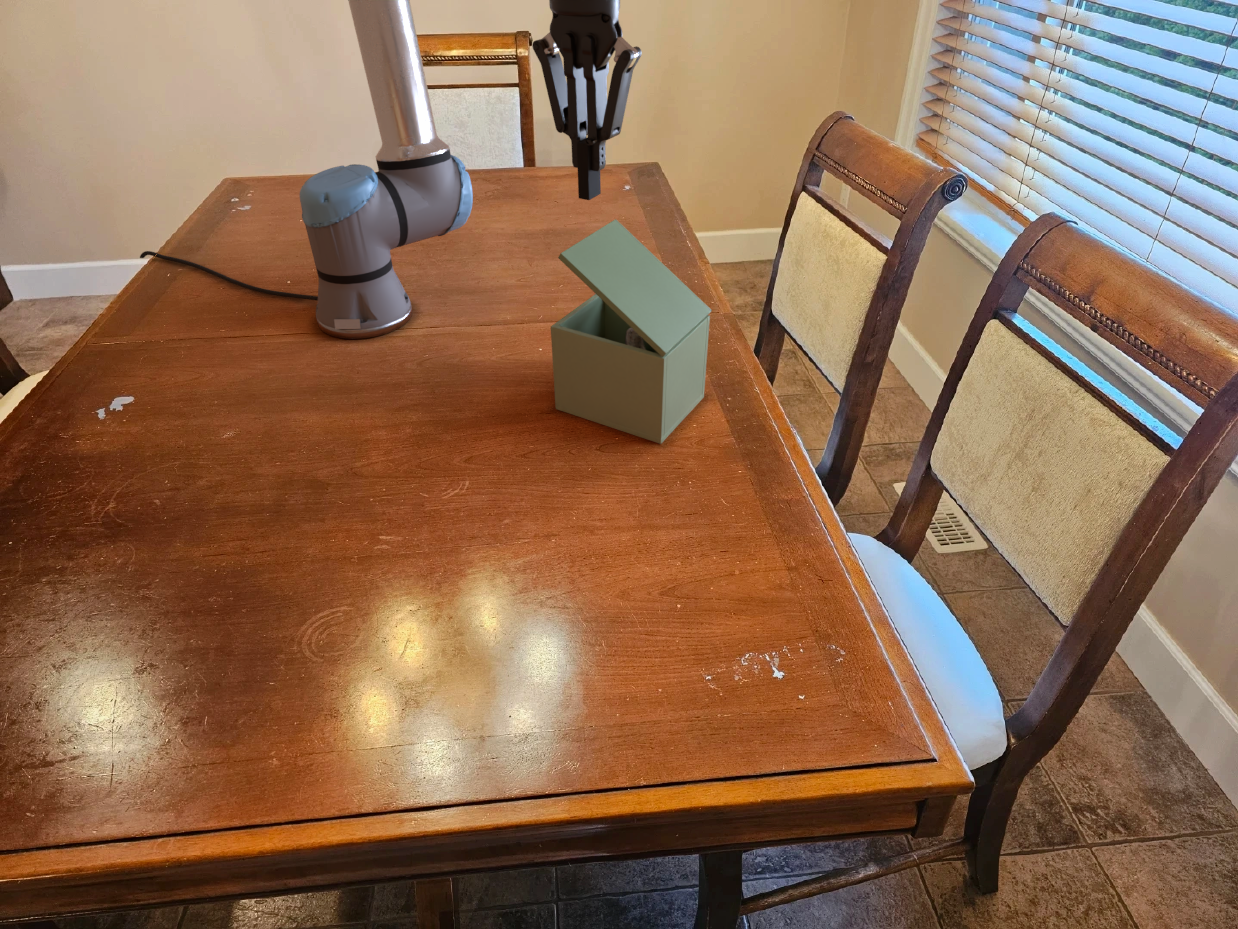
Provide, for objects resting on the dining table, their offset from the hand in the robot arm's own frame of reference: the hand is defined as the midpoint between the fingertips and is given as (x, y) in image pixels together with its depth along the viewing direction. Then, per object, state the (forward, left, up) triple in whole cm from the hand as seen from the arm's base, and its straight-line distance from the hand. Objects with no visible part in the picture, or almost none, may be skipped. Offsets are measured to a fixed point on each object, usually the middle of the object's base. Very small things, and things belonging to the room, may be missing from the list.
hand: (589, 195), depth 97 cm
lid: (+7, 0, -10) cm, 12 cm away
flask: (+7, 0, -28) cm, 28 cm away
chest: (+6, 0, -28) cm, 29 cm away
